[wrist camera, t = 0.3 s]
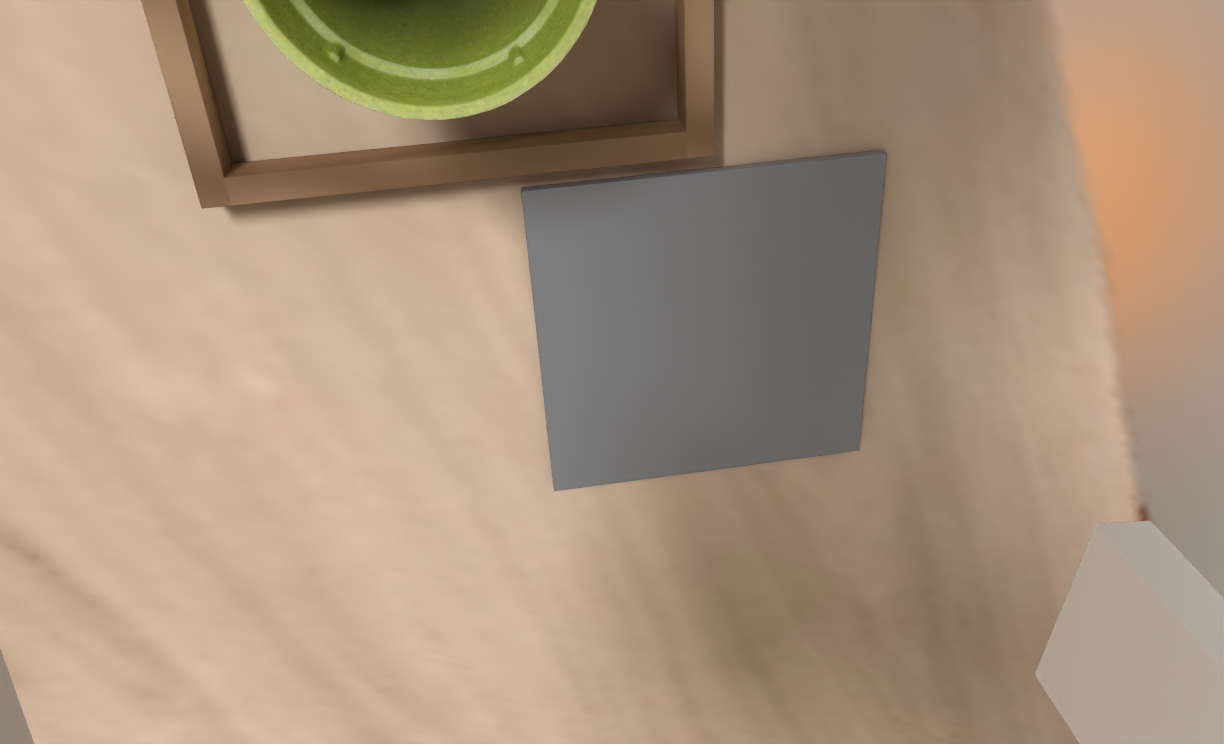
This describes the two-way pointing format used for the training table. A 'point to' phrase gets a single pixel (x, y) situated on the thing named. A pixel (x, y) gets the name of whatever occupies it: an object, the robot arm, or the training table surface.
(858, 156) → the mat
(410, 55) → the plant pot
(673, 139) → the tray frame
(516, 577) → the training table surface
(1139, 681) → the robot arm
